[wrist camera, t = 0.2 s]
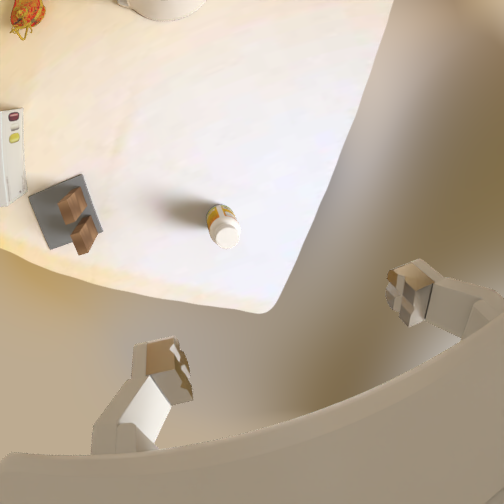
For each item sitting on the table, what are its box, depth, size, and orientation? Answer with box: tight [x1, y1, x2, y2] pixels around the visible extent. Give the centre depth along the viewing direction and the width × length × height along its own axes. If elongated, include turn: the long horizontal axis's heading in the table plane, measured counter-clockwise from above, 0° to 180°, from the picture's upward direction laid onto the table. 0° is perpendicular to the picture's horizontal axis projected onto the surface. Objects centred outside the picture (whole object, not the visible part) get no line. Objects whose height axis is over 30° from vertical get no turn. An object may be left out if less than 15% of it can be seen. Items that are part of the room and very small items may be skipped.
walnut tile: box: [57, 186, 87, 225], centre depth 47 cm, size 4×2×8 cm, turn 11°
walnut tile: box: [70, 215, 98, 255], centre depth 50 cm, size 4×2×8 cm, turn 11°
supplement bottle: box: [206, 205, 240, 249], centre depth 55 cm, size 5×5×10 cm
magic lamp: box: [10, 0, 46, 40], centre depth 25 cm, size 7×18×11 cm, turn 13°
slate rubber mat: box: [29, 175, 103, 250], centre depth 51 cm, size 12×13×1 cm
